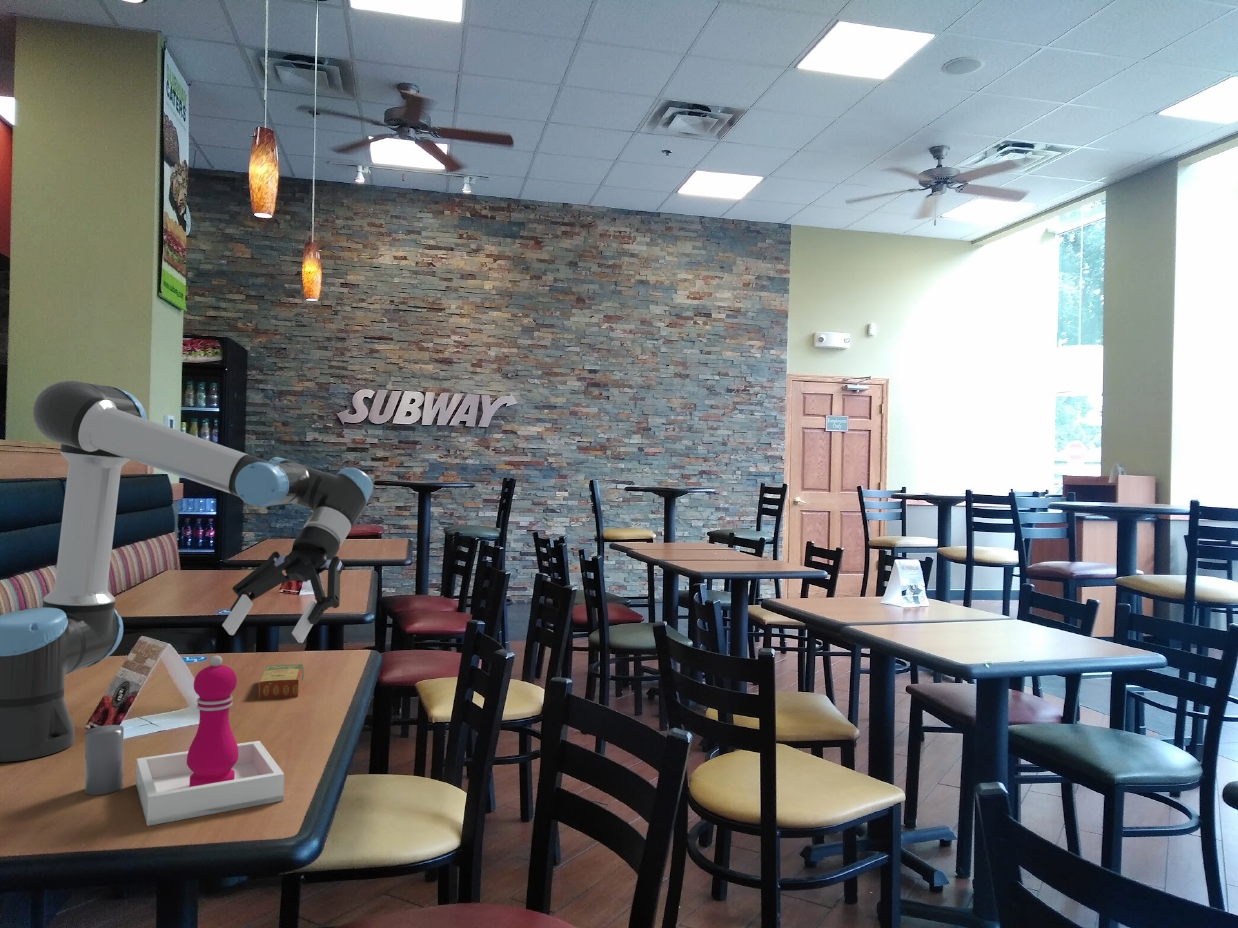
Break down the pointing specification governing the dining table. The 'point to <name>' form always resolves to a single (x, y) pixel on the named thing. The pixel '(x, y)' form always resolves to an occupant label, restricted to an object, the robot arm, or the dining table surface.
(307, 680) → the dining table surface
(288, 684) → the carton
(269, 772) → the tray
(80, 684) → the dining table surface
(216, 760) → the pepper mill
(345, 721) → the dining table surface
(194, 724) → the dining table surface
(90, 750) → the grey rounded pillar
